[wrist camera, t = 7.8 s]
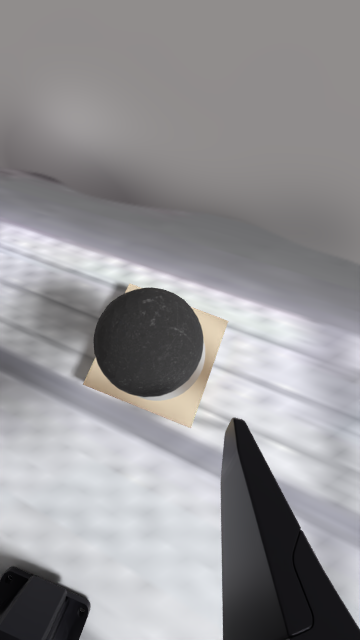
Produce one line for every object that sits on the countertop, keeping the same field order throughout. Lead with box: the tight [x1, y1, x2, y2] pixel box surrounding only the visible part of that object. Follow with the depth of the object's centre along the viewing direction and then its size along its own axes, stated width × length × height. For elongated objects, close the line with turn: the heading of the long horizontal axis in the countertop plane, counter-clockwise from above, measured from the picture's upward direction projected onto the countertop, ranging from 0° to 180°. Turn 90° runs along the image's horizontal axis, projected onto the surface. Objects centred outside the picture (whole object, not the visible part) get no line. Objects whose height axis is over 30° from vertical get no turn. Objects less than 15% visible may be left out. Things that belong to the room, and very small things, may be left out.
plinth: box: [83, 284, 228, 428], centre depth 21 cm, size 9×9×2 cm
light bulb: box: [94, 288, 204, 397], centre depth 15 cm, size 6×6×10 cm
